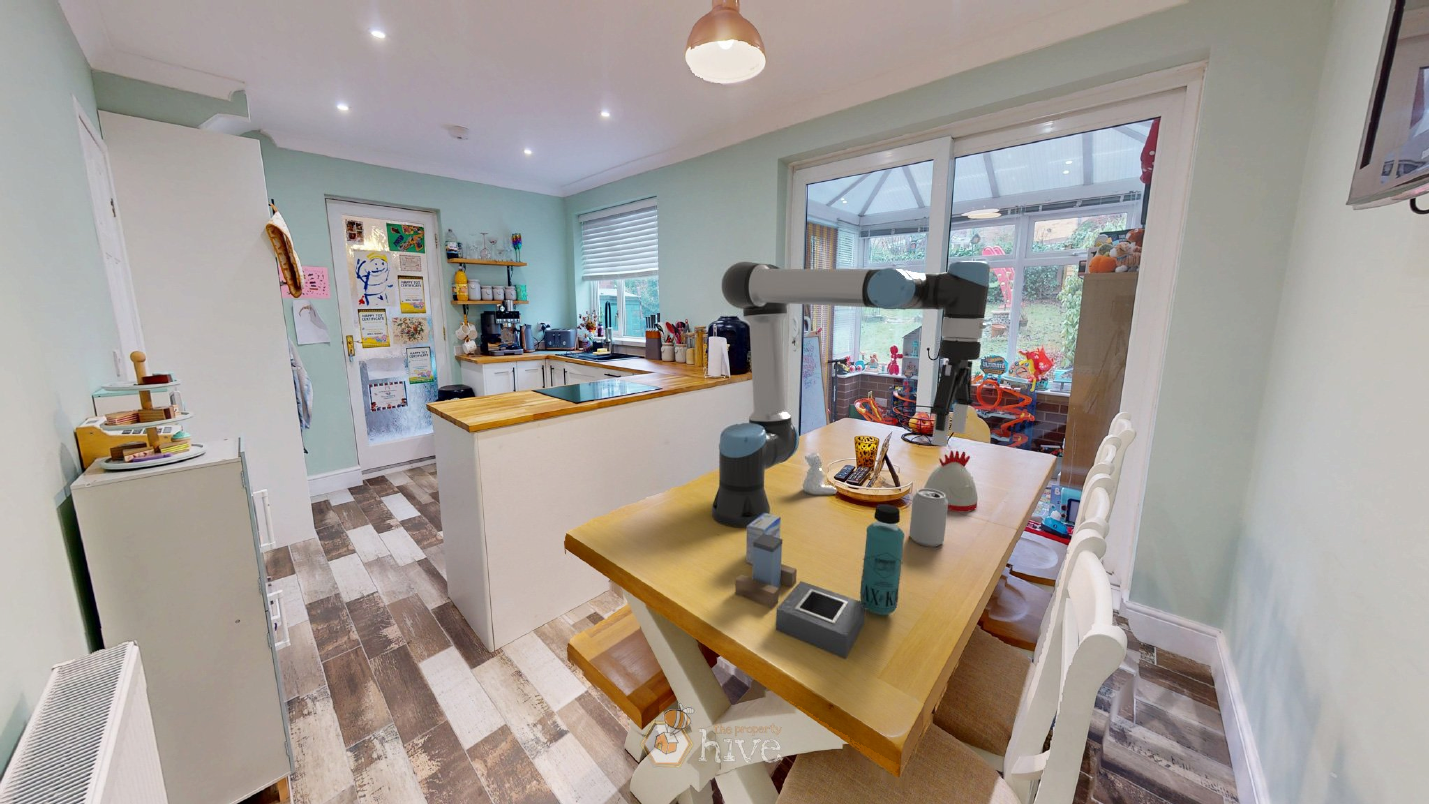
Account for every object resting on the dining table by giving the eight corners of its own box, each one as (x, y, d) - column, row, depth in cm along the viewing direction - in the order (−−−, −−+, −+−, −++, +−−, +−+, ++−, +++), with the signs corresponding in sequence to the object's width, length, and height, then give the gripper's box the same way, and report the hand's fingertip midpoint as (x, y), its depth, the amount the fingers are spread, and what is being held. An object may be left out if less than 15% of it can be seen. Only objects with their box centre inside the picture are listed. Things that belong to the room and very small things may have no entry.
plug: (751, 589, 92) (753, 542, 90) (761, 580, 95) (763, 533, 94) (770, 597, 90) (772, 548, 88) (780, 586, 93) (782, 539, 91)
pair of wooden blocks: (735, 593, 91) (735, 579, 90) (760, 570, 99) (760, 557, 98) (773, 608, 86) (773, 593, 86) (795, 582, 95) (796, 568, 94)
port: (775, 629, 81) (776, 607, 80) (799, 600, 89) (800, 580, 88) (845, 658, 74) (847, 634, 73) (864, 624, 82) (866, 602, 82)
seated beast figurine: (838, 494, 140) (840, 455, 138) (815, 499, 136) (818, 459, 134) (816, 484, 148) (818, 446, 146) (794, 488, 144) (796, 450, 142)
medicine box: (764, 568, 100) (765, 530, 98) (745, 562, 102) (746, 524, 100) (779, 552, 106) (781, 516, 105) (761, 547, 109) (763, 511, 107)
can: (947, 549, 108) (953, 500, 106) (912, 546, 110) (917, 497, 108) (939, 534, 116) (944, 487, 113) (906, 531, 117) (910, 485, 115)
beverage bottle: (853, 601, 89) (861, 500, 85) (887, 599, 89) (897, 499, 86) (867, 624, 82) (876, 515, 79) (904, 622, 83) (915, 514, 79)
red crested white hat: (986, 512, 129) (993, 459, 126) (935, 511, 129) (941, 458, 126) (961, 492, 143) (967, 444, 140) (915, 491, 143) (919, 443, 140)
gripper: (964, 343, 87) (950, 455, 91) (994, 338, 106) (982, 431, 110) (922, 340, 92) (910, 447, 96) (957, 336, 110) (947, 425, 115)
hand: (948, 438), depth 103 cm, fingers open, 13 cm apart
